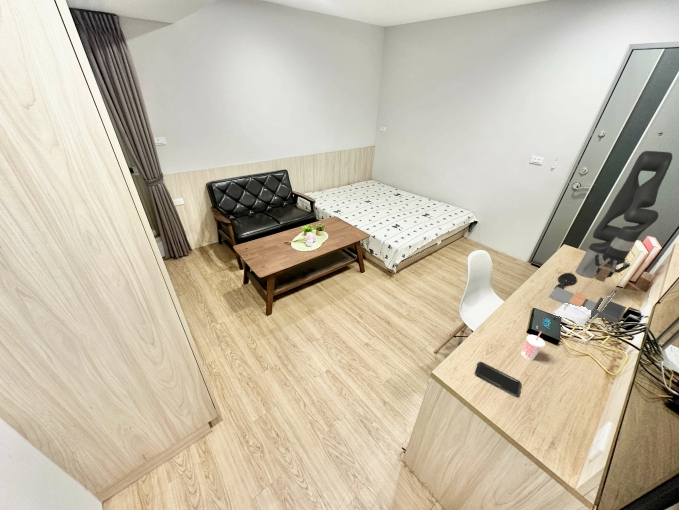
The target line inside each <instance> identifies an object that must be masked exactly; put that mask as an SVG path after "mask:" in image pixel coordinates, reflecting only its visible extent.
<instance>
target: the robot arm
mask: <svg viewBox="0 0 679 510" xmlns="http://www.w3.org/2000/svg"><path fill="white" fill-rule="evenodd" d="M672 160H673V153H672V152H669V151H658V150H657V151H656V150H654V151H653V150H644V151H642V152H641V153H640V154H639V156H638V157H637V159H636V160H635V162H634V164H633V166H632V168H631V170H630V171H629V174H628V176H627V178H626V179H625V181H624V183H623V184H622V187H621V188H620V189H619V191H618V192H617V194H616V196H615V197H614V199H613V200H612V203H611V204H610V206H609V208H608V210H607V211H606V213H605V215H604V216H603V217H602V219H601V221H600V222H599V223H598V225H597V226H596V228H595V229H594V231H593V234H592V238H594V239H596V240H599V241H603V242H593V243H591V244H589V247H588V248H587V249H586V251H585V253H584V255H583V257H582V258H581V260H580V262H579V263H578V265H577V267H576V269H575V272H576V273H577V275H580V276H582V277H585V278H589V279H590V278H594V277H595V275H596V274H597V275H598V273H599V272H600V270H601V269H602V267H603V266H604V265H605V264H610V265H612V270H611V272H610V273H609V275H608V276H607V278H606V279H608V278H611V277H612V276H613V275H614V274H615V273H617V274H619V273H621V272H623V271H624V270H626V269H628V268H630V266H631V263H628V262H627V261H626V259H627V257H628V255H629V254H630V252H631V250H633V248H634V246H635V244H636V242H637V241H638V239H639V237H640V236H641V235H642V233H644V232H645V231H646V230H647V229H648V228H649V227H651V226H652V225H654V223H655V222H657V220H658V219H659V213H658V211H657V210H655V209H649V208H651V207H653V206H654V205H656V201H657V197H658V193H659V190H660V186H661V184H662V182H663V181H664V179H665V178H666V175H667V172H668V171H669V167H670V166H671V163H672ZM641 172H655V174H654V175H653V176H652V177H651V178H650V179H648V180H647V181H645V182H644V183H642V184H641V185H640V183H639V176H640V173H641ZM621 216H623V220H624V221H625V222H626V223H633V224H636V225H633V226H631V225H624V226H620V227H618V226H615V225H610V223H612V221H613V220H615V219H617V218H618V217H621ZM621 264H622V266H621V267H620V268H617V266H619V265H621ZM576 273H575V274H576Z"/></svg>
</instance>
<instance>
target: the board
mask: <svg viewBox="0 0 679 510" xmlns="http://www.w3.org/2000/svg"><path fill="white" fill-rule="evenodd" d="M555 287H556V286H555ZM555 287H554V288H555ZM554 288H553V291H551V293H549V296H548V298H550V299H552V300H554V301H556V302H558V303H561V304H563V305H565V304H564V303H568V304H572V303H570V302H569V301H570V299H571V298H572V297H573V296H574V294H575V293H573V292H571V291H569V290H566V289H561V288H559V287H556V288H555V289H554ZM596 304H597V302H595V301H593V300H591V299H588V298H586V300H585V301H584V303H583V304H582V306H583V307H586V308H587V309H588V310H591V312H592V310H593V309H594V307H595V305H596ZM572 305H575V304H572ZM575 306H577V305H575Z"/></svg>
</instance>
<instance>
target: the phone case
mask: <svg viewBox="0 0 679 510" xmlns="http://www.w3.org/2000/svg"><path fill="white" fill-rule="evenodd" d="M557 316H560V317H562V318H563V319H562V318H561V319H562V320H564V321H565V322H567V323H568V324H570V325H572V324H574V325H577V326H579V325H578V324H576V323H574V322H572V321H571V320H569V319H567V318H565V317H564V316H561V315H557ZM560 317H559V318H560ZM574 325H573V326H574ZM562 327H563V328H562ZM562 327H561V328H562V329H564V330H565V331H568V332H569V331H570V332H572V333H573V334H574V335H576V336H577V337H579V338H580V339H582V340H583V341H585V342H586V343H587V342H589V341H590V340H591V339H593V338H594V336H596V335H595V334H594V333H592V332H591V331H589V330H587V329H585V328H583V327H581V326H579V328H578V329H579V330H581V329H583V330H586V332H585V333H586V334H589V335H590V336H591V337H589V338H588V339H586V338H585V337H583V336H581V335H579V334H578V333H576V332H574V331H572V330H571V329H569V328H567V327H566V326H564V325H562ZM583 330H582V331H583ZM570 332H569V333H570ZM572 333H571V334H572Z"/></svg>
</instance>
